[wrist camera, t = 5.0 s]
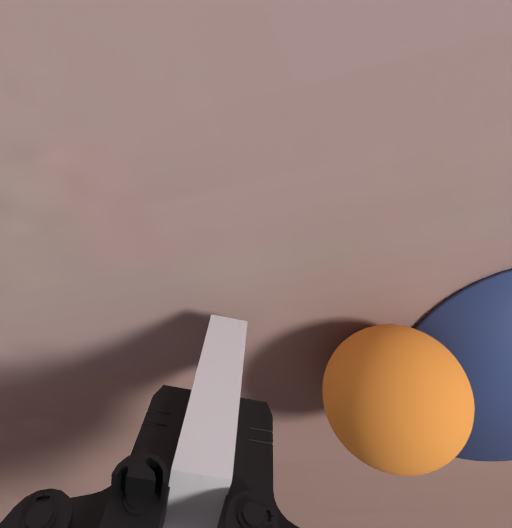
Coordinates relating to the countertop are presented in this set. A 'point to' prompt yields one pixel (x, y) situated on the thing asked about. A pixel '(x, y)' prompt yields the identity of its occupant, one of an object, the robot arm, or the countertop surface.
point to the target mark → (481, 359)
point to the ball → (398, 400)
